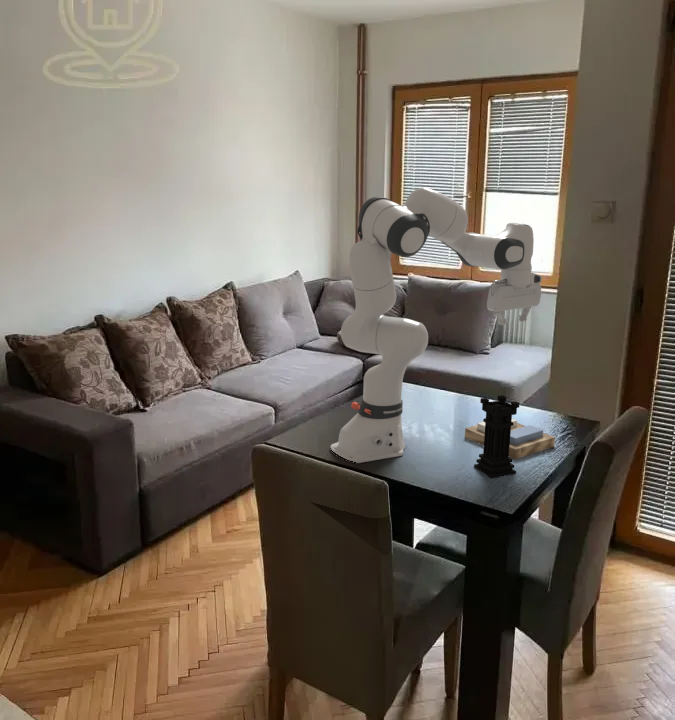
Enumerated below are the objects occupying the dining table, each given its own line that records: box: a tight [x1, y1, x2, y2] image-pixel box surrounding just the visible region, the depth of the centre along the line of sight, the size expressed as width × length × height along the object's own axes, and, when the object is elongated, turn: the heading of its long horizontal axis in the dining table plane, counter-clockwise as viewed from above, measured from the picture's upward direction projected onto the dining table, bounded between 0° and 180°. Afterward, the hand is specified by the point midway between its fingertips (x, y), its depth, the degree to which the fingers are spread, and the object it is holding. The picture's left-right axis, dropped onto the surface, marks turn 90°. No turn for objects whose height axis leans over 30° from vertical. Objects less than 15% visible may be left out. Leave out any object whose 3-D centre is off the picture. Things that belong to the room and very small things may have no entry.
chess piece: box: [473, 395, 520, 479], centre depth 182 cm, size 8×8×20 cm
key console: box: [464, 422, 556, 460], centre depth 205 cm, size 17×20×3 cm
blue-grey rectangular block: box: [510, 425, 544, 445], centre depth 200 cm, size 12×5×3 cm, turn 125°
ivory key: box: [476, 418, 518, 433], centre depth 208 cm, size 12×5×3 cm, turn 125°
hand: (512, 322), depth 208 cm, fingers open, 8 cm apart
